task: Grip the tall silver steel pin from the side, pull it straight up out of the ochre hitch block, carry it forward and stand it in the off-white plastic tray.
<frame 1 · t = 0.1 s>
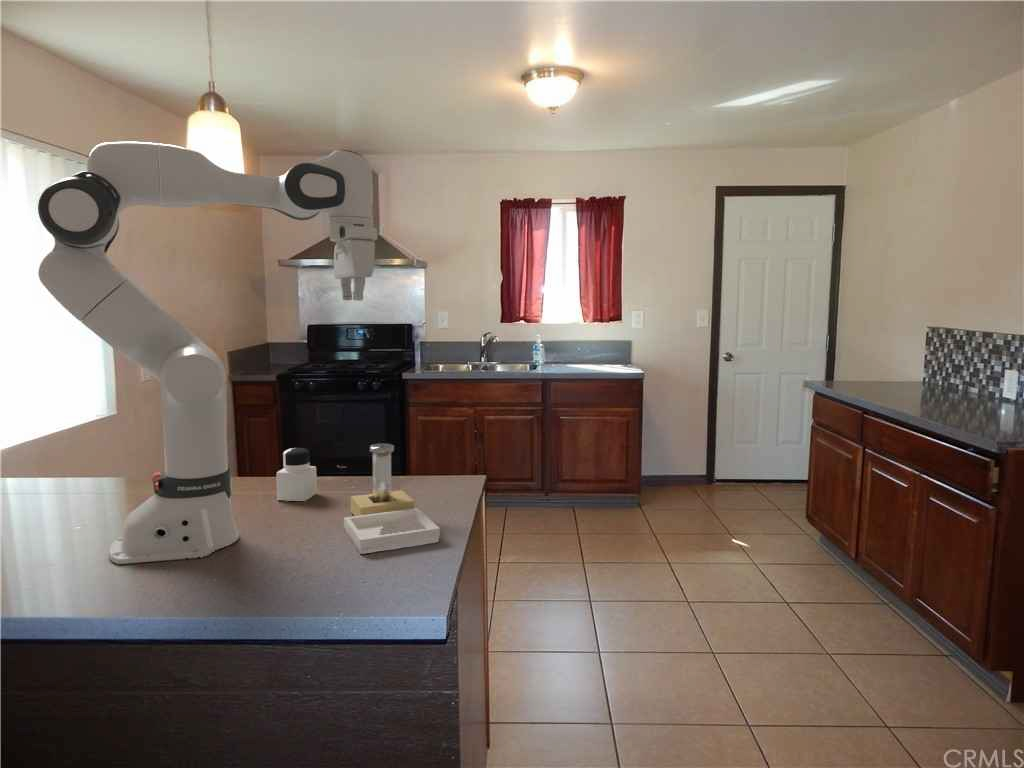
hand: (352, 300, 137), 48 cm above the countertop, tool pointing down, fingers open, 8 cm apart
medicine bottle: (297, 498, 159), on the countertop
hitch block: (382, 515, 147), on the countertop
tray: (390, 536, 134), on the countertop
steel pin: (382, 481, 146), in the hitch block
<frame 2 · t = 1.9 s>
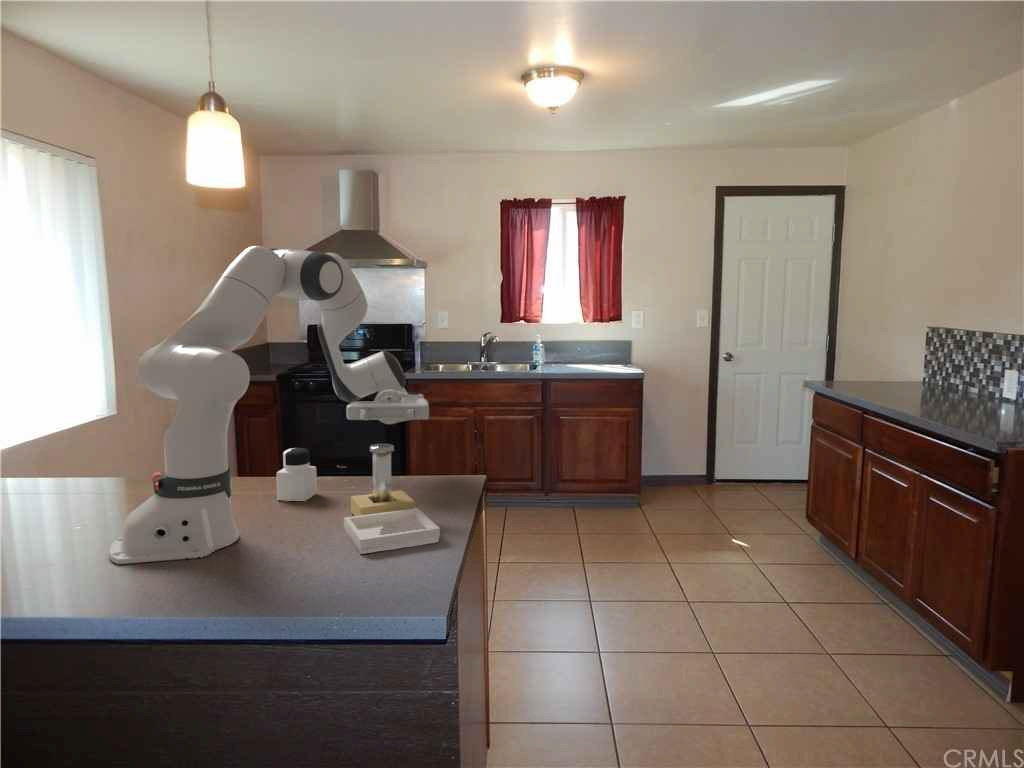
hand: (386, 416, 156), 20 cm above the countertop, tool horizontal, fingers open, 8 cm apart
nothing on the countertop moved.
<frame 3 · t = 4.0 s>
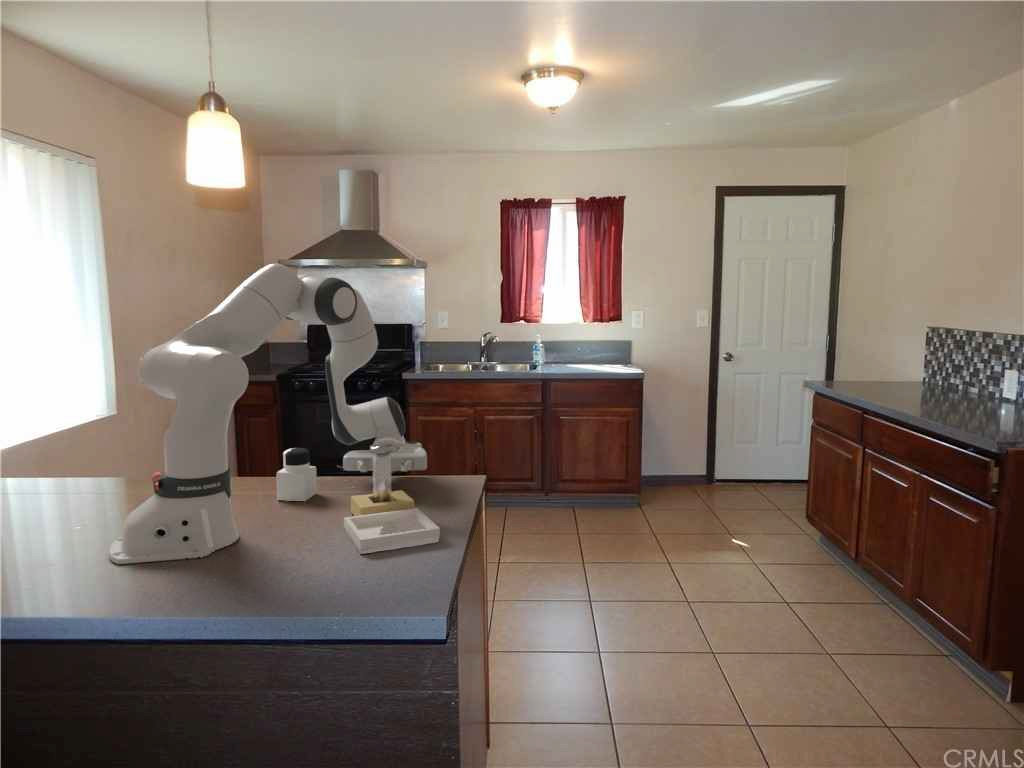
hand: (383, 468, 153), 9 cm above the countertop, tool horizontal, fingers open, 8 cm apart
nothing on the countertop moved.
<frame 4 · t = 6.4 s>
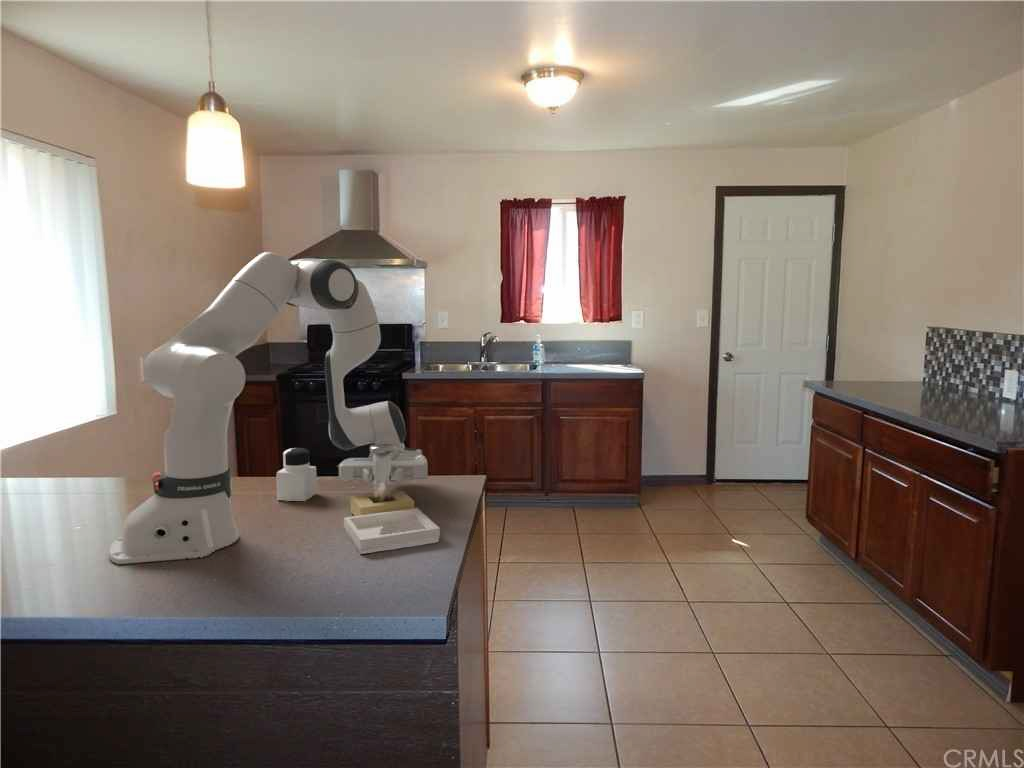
hand: (381, 477, 145), 9 cm above the countertop, tool horizontal, fingers closed on steel pin, 4 cm apart
steel pin: (382, 481, 146), in the hitch block, touching gripper
everything else where it was.
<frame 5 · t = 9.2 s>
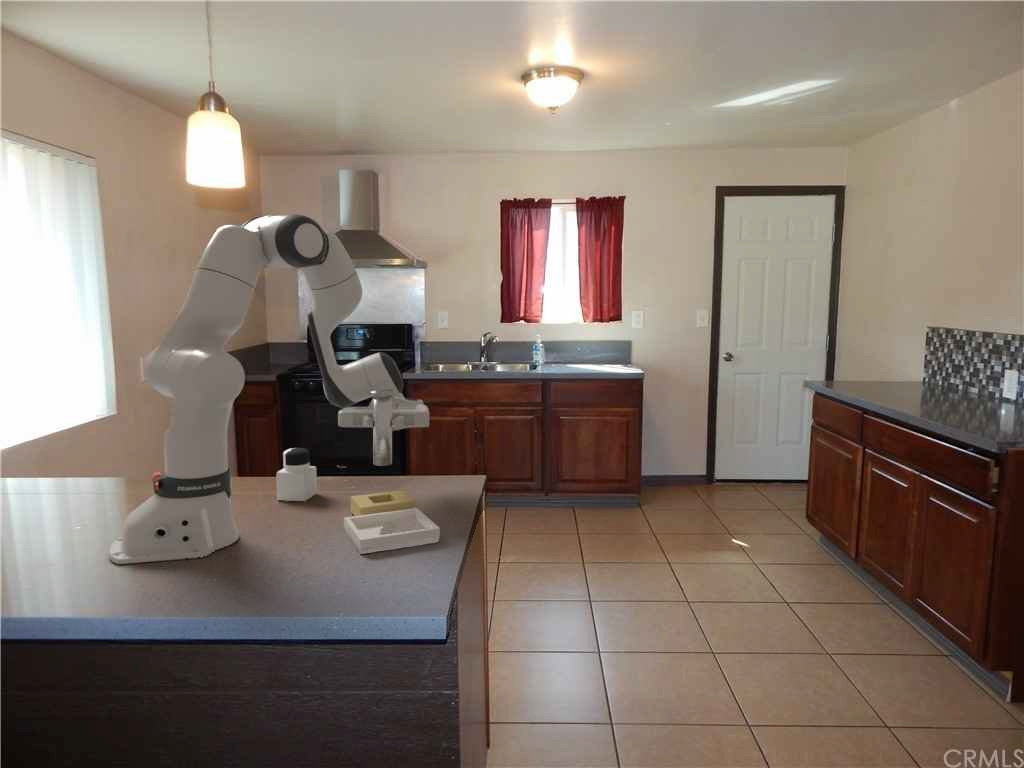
hand: (382, 423, 141), 22 cm above the countertop, tool horizontal, fingers closed on steel pin, 4 cm apart
steel pin: (382, 427, 142), point 21 cm above the countertop, touching gripper
everything else where it was.
when the fingers open (11 cm above the countertop, at t = 12.5 s): steel pin stays where it is, resting on tray.
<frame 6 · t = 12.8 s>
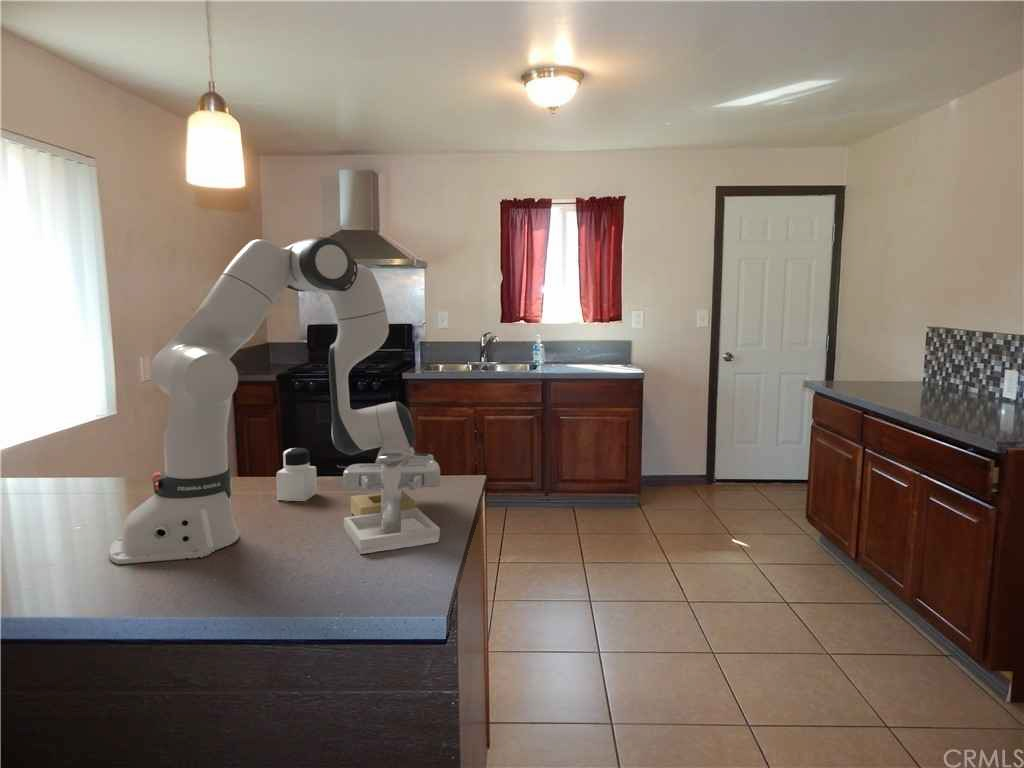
hand: (390, 486, 132), 11 cm above the countertop, tool horizontal, fingers open, 7 cm apart
steel pin: (390, 494, 133), in the tray, point 9 cm above the countertop
everything else where it was.
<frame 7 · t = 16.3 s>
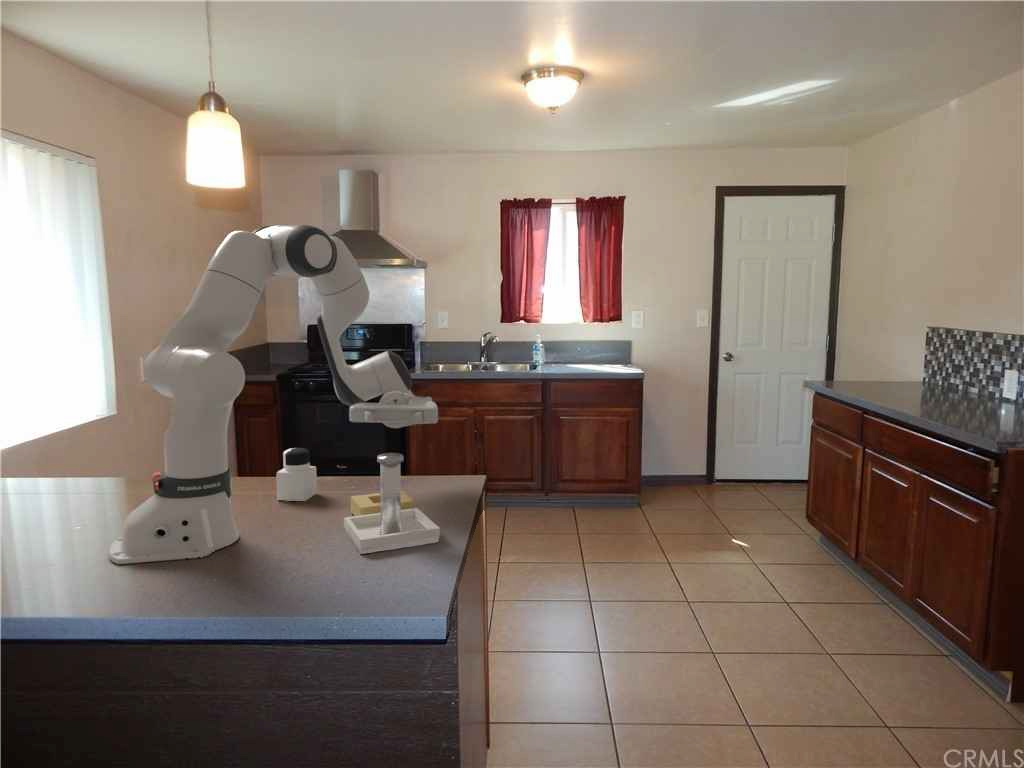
hand: (392, 418, 145), 22 cm above the countertop, tool horizontal, fingers open, 8 cm apart
nothing on the countertop moved.
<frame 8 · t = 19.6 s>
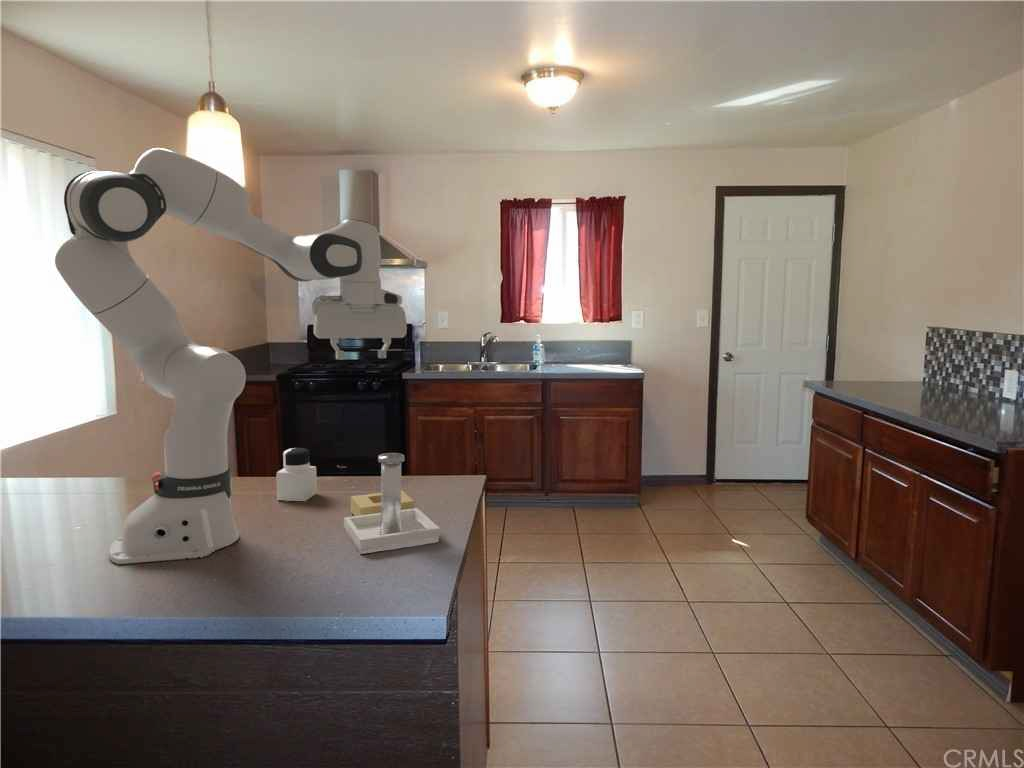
hand: (361, 358, 146), 35 cm above the countertop, tool pointing down, fingers open, 8 cm apart
nothing on the countertop moved.
at the end: steel pin inside the target area on the tray (0.0 cm from its centre), point 9.0 cm above the tray's base; the gripper is holding nothing; steel pin tilted 0° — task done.
